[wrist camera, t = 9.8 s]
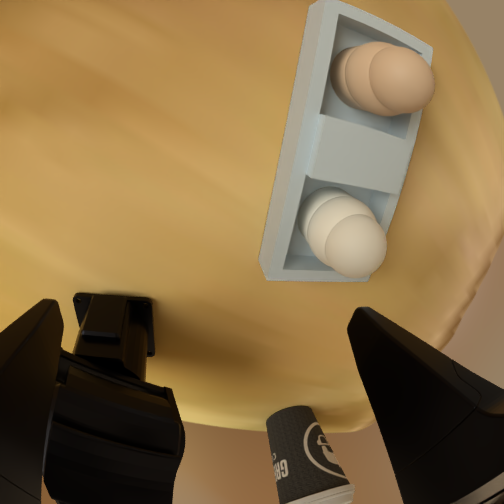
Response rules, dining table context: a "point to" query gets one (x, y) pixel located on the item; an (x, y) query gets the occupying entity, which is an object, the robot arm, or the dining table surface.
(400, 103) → the brown egg
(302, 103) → the egg carton
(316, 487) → the coffee cup
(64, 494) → the robot arm
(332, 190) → the cream egg
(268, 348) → the dining table surface
